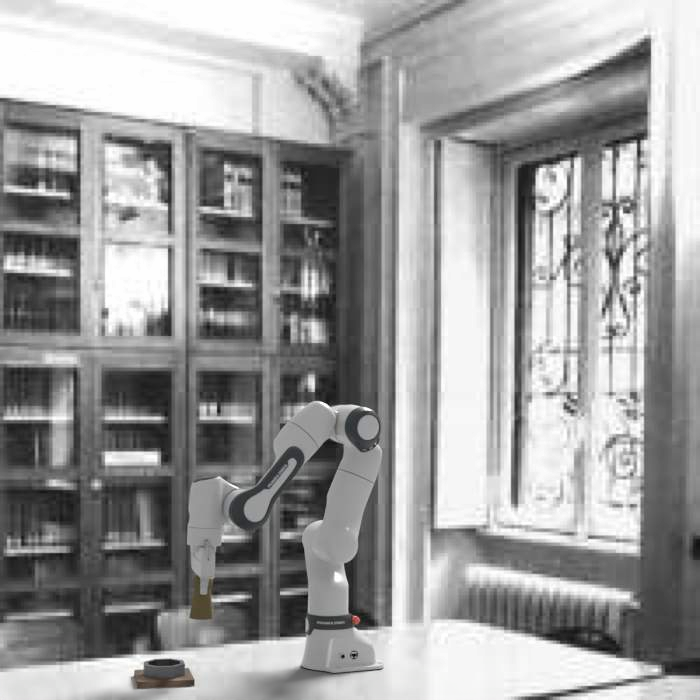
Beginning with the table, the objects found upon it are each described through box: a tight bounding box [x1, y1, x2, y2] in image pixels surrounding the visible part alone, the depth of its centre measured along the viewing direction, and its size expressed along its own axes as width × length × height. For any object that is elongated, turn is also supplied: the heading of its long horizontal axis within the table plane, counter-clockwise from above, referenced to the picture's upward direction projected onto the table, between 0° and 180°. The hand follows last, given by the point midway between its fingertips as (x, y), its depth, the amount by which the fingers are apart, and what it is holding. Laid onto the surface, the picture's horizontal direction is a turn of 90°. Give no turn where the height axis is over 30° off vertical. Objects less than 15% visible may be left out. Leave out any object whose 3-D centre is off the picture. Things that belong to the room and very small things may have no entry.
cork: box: [188, 574, 214, 621], centre depth 281 cm, size 6×6×11 cm
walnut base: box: [133, 667, 195, 689], centre depth 277 cm, size 14×14×2 cm
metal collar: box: [142, 657, 186, 679], centre depth 278 cm, size 10×10×3 cm
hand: (201, 592), depth 281 cm, fingers closed on cork, 4 cm apart
